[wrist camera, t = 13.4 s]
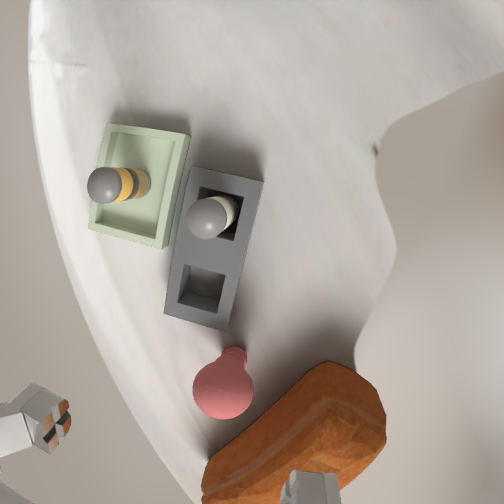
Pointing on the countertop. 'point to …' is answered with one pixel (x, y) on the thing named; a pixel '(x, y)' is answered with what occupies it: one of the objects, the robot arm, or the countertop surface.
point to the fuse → (211, 216)
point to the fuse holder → (211, 250)
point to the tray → (162, 183)
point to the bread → (301, 439)
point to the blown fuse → (118, 184)
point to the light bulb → (224, 385)
